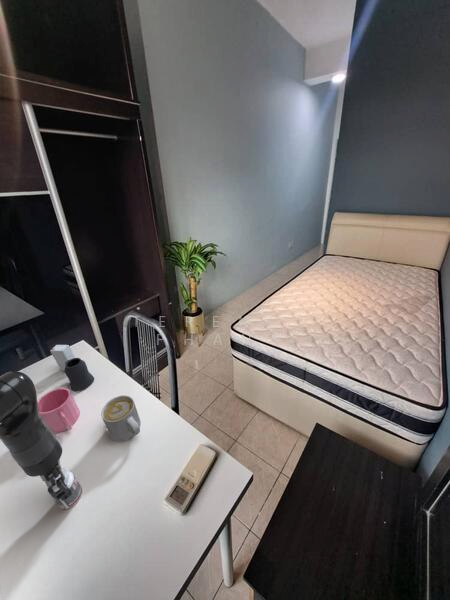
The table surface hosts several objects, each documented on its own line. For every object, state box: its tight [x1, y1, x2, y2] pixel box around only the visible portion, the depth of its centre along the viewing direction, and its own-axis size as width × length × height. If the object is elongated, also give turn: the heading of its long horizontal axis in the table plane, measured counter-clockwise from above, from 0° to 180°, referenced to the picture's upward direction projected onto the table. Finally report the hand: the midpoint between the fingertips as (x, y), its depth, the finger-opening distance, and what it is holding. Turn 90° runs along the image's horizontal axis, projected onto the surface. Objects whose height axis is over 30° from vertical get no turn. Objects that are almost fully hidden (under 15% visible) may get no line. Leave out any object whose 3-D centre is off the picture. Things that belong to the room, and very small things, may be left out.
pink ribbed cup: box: [37, 387, 81, 434], centre depth 84 cm, size 14×10×10 cm
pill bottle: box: [48, 467, 83, 510], centre depth 64 cm, size 6×6×10 cm
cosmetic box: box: [50, 344, 76, 372], centre depth 108 cm, size 6×4×12 cm
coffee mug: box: [101, 394, 142, 443], centre depth 80 cm, size 13×10×10 cm
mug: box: [63, 357, 95, 393], centre depth 101 cm, size 12×9×11 cm
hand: (63, 486), depth 64 cm, fingers closed on pill bottle, 5 cm apart
